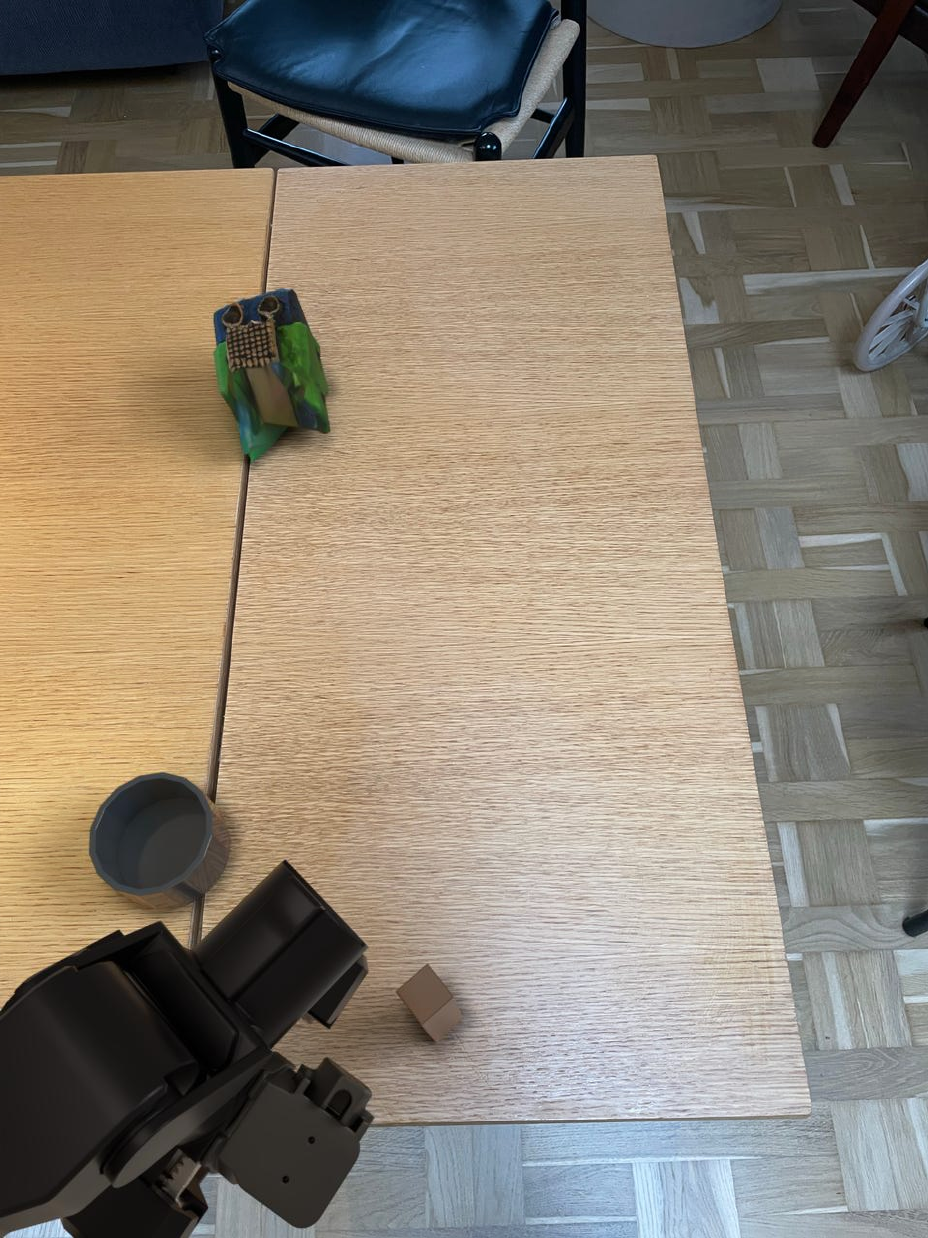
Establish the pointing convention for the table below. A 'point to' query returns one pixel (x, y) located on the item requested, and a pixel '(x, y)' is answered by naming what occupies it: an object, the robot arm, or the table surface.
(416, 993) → the brown rectangular bar
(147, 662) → the table surface
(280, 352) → the sculpture
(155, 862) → the cup
